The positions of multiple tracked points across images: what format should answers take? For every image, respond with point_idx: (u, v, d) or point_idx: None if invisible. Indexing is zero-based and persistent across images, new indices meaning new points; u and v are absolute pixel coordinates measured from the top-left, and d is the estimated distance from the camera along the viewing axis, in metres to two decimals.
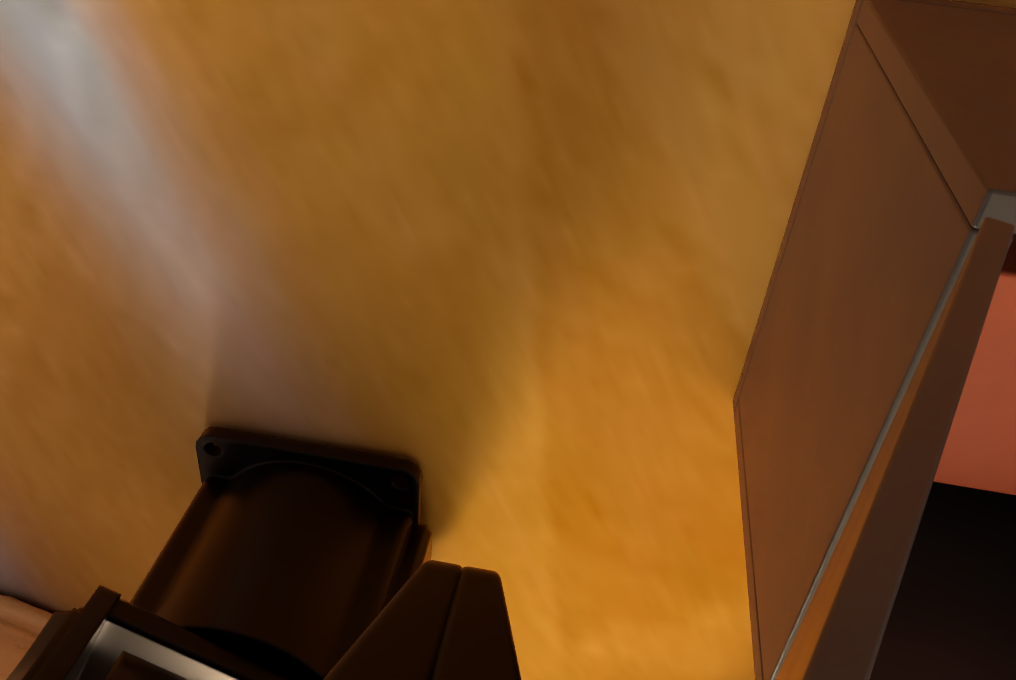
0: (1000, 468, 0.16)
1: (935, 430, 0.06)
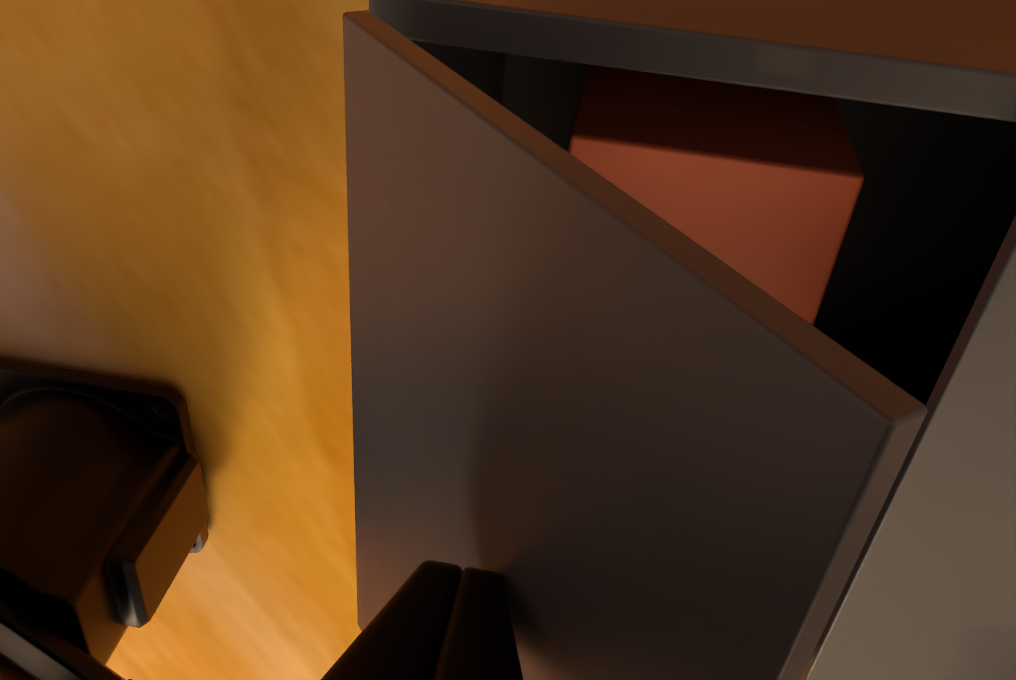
0: None
1: (590, 174, 0.06)
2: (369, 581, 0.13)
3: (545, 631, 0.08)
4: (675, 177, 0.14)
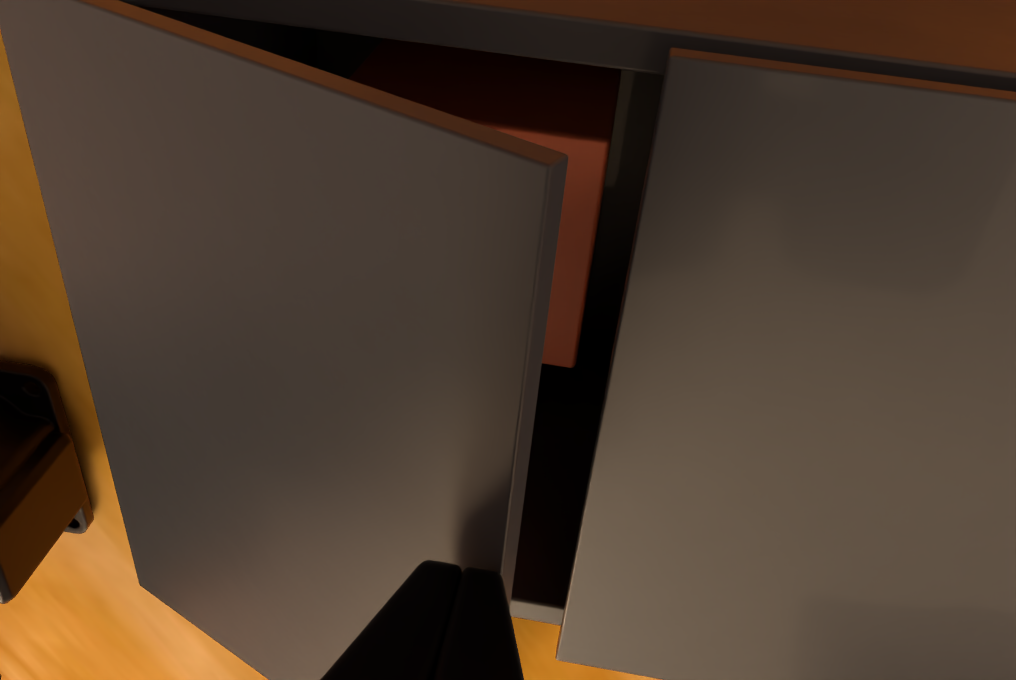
0: None
1: (281, 59, 0.08)
2: (142, 533, 0.14)
3: (333, 470, 0.10)
4: None
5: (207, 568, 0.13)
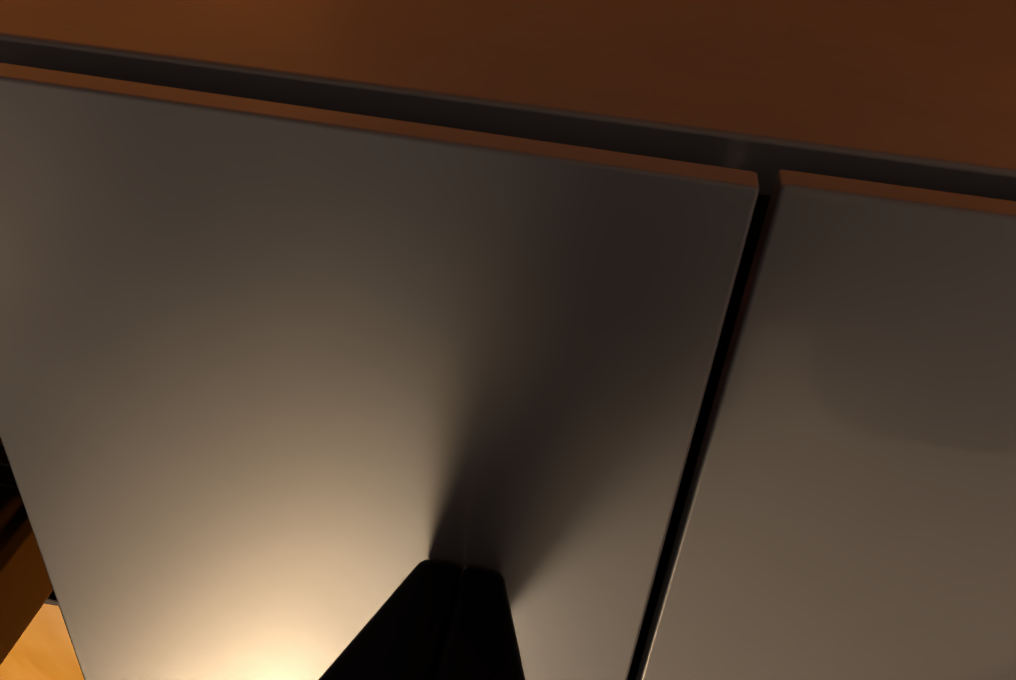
0: None
1: (375, 119, 0.07)
2: None
3: (431, 548, 0.09)
4: None
5: None
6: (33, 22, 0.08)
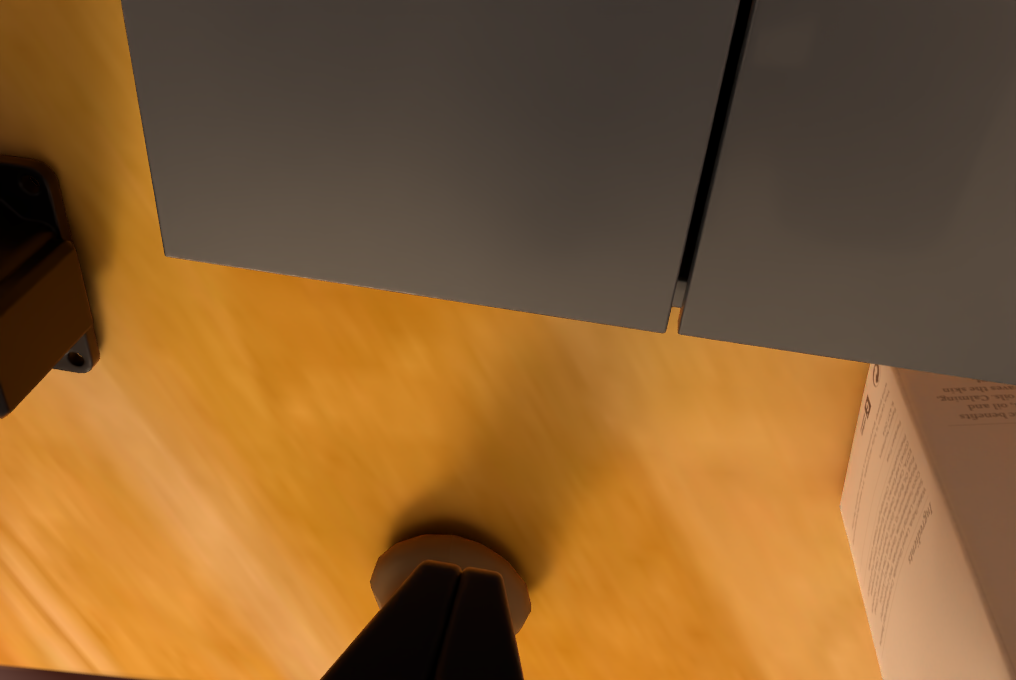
0: None
1: None
2: (182, 150, 0.11)
3: None
4: None
5: (294, 147, 0.11)
6: None
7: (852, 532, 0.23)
